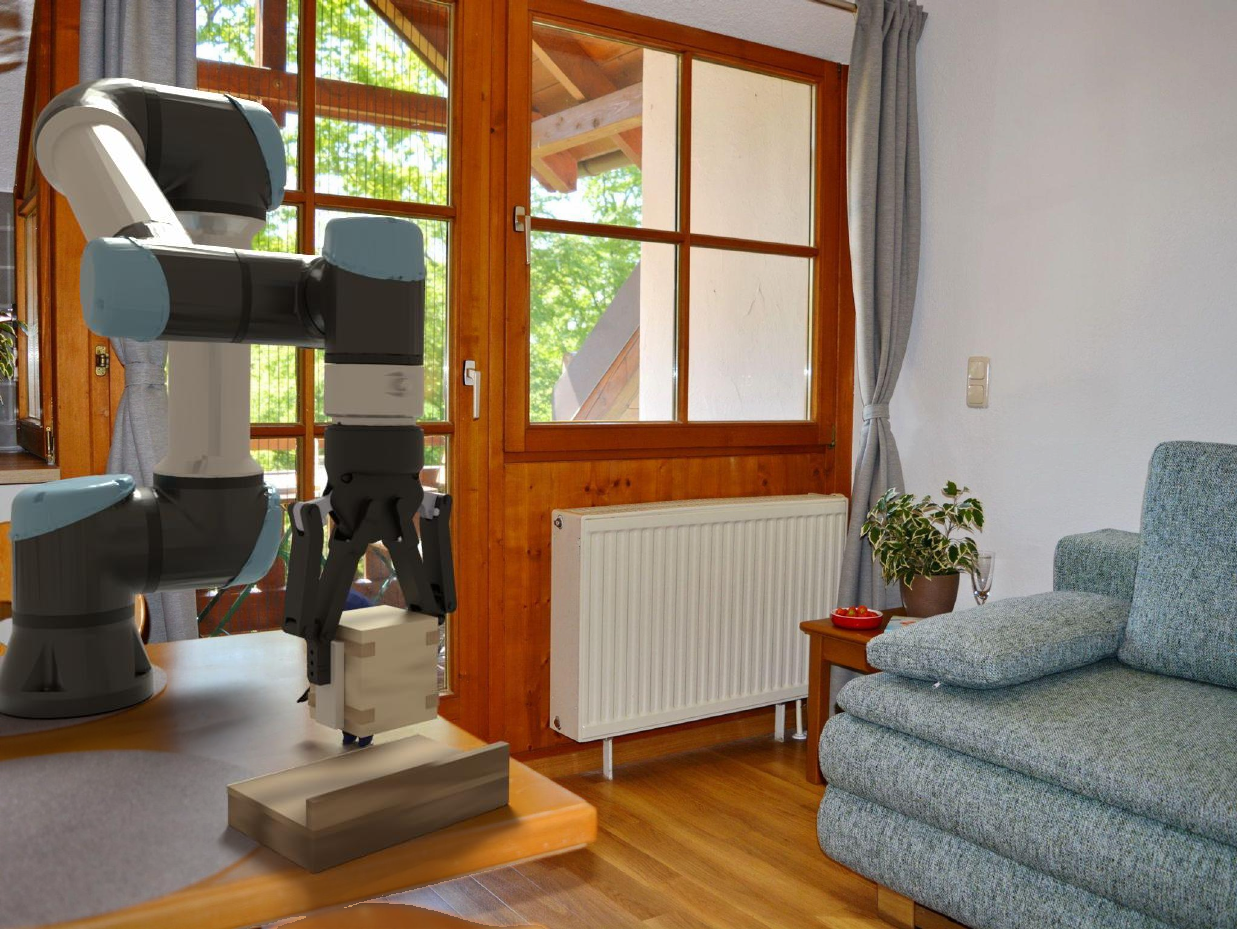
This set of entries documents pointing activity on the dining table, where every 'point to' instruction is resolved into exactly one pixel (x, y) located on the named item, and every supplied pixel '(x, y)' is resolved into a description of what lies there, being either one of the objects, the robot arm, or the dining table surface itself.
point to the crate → (387, 669)
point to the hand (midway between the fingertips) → (373, 713)
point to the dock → (368, 798)
